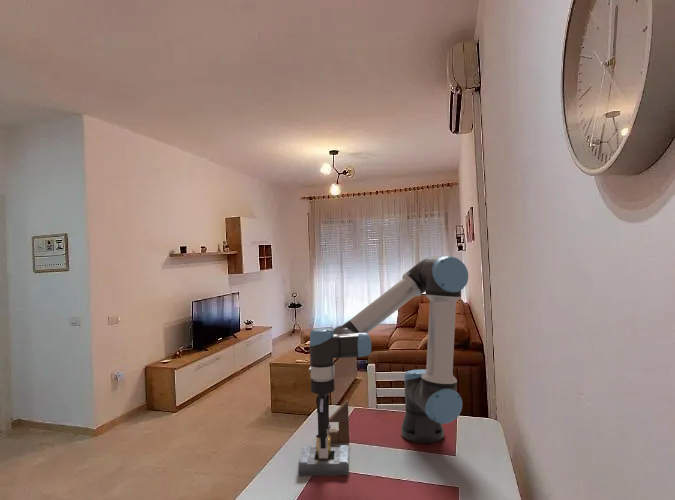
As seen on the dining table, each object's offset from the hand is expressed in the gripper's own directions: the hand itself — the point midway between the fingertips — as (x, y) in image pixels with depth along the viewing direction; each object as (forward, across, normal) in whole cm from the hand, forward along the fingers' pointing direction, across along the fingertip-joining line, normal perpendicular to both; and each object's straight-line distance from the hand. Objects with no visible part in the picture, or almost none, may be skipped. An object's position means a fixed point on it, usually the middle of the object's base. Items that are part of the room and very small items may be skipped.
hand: (324, 453), depth 127 cm
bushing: (+3, 0, 0) cm, 3 cm away
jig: (+4, 0, 0) cm, 4 cm away
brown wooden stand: (+4, -18, +2) cm, 19 cm away
